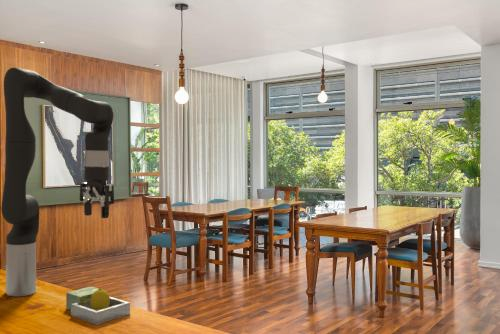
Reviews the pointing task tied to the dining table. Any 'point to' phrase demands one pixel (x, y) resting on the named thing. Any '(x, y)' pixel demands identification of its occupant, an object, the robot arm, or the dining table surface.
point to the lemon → (100, 300)
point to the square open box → (82, 309)
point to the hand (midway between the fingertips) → (96, 216)
